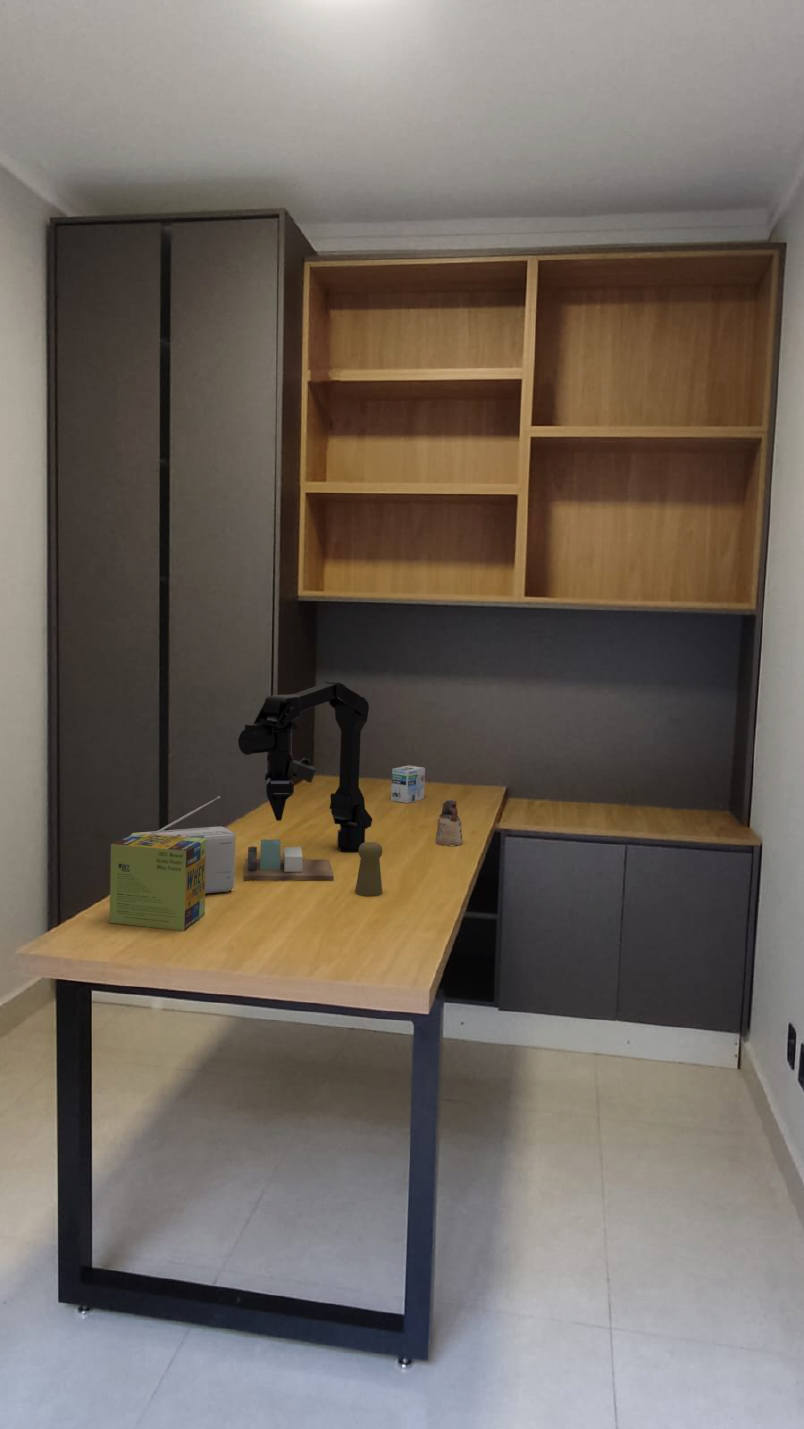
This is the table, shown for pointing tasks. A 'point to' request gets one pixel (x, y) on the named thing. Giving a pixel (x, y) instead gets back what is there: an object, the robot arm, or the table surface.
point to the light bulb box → (408, 784)
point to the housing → (292, 859)
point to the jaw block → (270, 854)
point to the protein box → (158, 881)
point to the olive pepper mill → (369, 870)
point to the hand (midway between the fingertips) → (278, 816)
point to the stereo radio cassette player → (211, 853)
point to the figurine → (449, 825)
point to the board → (310, 871)
